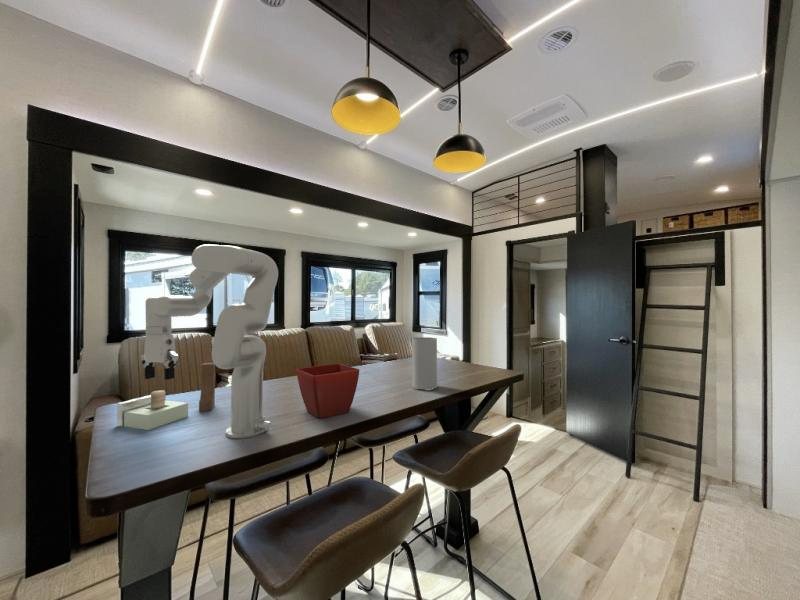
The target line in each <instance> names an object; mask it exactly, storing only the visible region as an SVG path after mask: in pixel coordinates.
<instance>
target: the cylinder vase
mask: <svg viewBox="0 0 800 600" xmlns="http://www.w3.org/2000/svg"><path fill="white" fill-rule="evenodd" d="M411 339H412V340H411V342H412V345H411V347H412V349H411V350H412V352H411V354H412V355H411V356H412V357H411V358H412V360H411V361H412V364H411V367H412V368H411V369H412V379H411V380H412V381H411V382H412V388H413V387H414V388H417V389H432V388H435V387H437V388H438V344H437V343H438V338H436V337H429V336H428V337H426V336H424V337H421V336H419V337H412V338H411ZM414 388H413V389H414ZM417 389H416V390H417Z"/></svg>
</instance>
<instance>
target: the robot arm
mask: <svg viewBox="0 0 800 600" xmlns="http://www.w3.org/2000/svg"><path fill="white" fill-rule="evenodd" d="M191 262H192V265H193V267H195V269H194V270H192V271H191V272H190V273H189V277H188V279H189V281H190V283H191V285H192V286H193V287H194V288H195V289H196V290H195V291H194V292H193V293H192V294H191V295H162V296H157V297H156V296H153V297H147V299H145V338H144V339H145V340H144V349H143V350H144V353H143V354H140V358H141V361H142V362H141V363H142V366H143V367H142V368H144V379H145V380H148V379H153V378H155V377H156V367H155V366H154V365H155V364H163V365H164V367H165V368H164V380H165V381H166V380H167V381H168V380H171V379H174V378H175V367H176V365H177V363H178V360H179V357H180V356H179V354H178V353H177V351H176V341H175V338H174V337H175V336H174V334H173V333H172V318H177V317H192V316H195V315H198V314H199V313H201V312H202V311H203V310H204V309H205V308H206V307H207V306H208V305H209V304H210V302H211V301H212V298H213V294H214V293H213V292H214V291H213V289H215V287H216V286H218V285H219V284H220V283H221V282H222V281H223V280H224V279H226V278H227V277H228V276H229V275H230V274H231V275H233V274H234V275H241V276H248V277H249V276H250V277H252V280H250V282H249V283H248V284H247V286H246V289H245V290H244V291H245V292H244V297H243V301H242V303H233V304H229V305H227V306H226V307H224V308H223V309H222V310H221V312H220V313H219V316H218V318H217V322H216V328H215V331H214V337H213V340H212V346H211V347H212V348H211V360H212V363H214V364H215V367H217V368H218V369H221V370H230V369H233V371H232V374H231V380H230V381H231V386H230V390H231V391H230V426H229V427H227V428H226V430H225V436H226V437H227V438H230V439H245V438H251V437H255V436H259V435H261V434H262V433H265V432H266V431H268V430H269V428H270V426H272V421H270V420H269V421H267V420H266V415H263V412H264V411H263V406H264V405H263V404H264V402H263V401H264V397H263V395H264V364H265V362H266V361H265V359H266V355H267V347H266V343H265V341H264V340H263V339H262V338H261V337H259V336H257V335H252V334H253V333H258V332H261V331H263V330H264V329H266V328H267V325H268V321H269V316H270V313H271V307H272V302H273V297H274V293H275V289H276V286H277V283H278V278H279V269H278V266H277V263H276V262H275V261H274V259H273V258H272V257H271V256H269V255H267V254H265V253H263V252H261V251H260V252H259V251H256V250H253V249H247V248H243V247H239V246H235V245H222V244H221V245H219V244H202V245H199V246H197V247H195V249H194V250H193V252H192V254H191ZM245 334H251V335H245Z"/></svg>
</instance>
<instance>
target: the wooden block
mask: <svg viewBox="0 0 800 600" xmlns="http://www.w3.org/2000/svg"><path fill="white" fill-rule="evenodd" d="M215 377H216V365H215V364H214V362H204V363H202V364H201V365H200V396H199V397H200V398H199V401H198V412H199V413H202V412H203V413H205V412H211V411H213V409H214V406H215V405H216V404H215V403H216V401H215V398H216V397H215V395H216V391H215V388H216V386H215V385H216V381H215V380H216V378H215Z"/></svg>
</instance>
